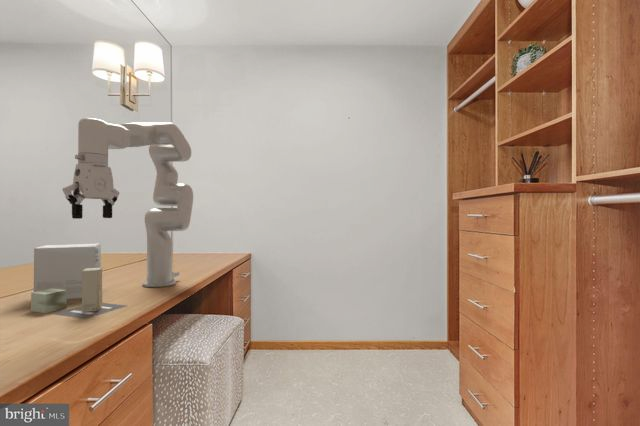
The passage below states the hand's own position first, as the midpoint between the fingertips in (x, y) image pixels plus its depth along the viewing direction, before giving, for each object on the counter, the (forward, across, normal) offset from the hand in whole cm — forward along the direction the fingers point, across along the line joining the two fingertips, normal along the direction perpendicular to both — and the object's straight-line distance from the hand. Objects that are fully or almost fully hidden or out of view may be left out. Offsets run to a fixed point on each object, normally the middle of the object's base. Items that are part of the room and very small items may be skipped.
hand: (93, 218), depth 103 cm
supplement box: (+28, +11, +24) cm, 39 cm away
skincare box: (+28, 0, 0) cm, 28 cm away
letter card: (+28, 0, 0) cm, 28 cm away
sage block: (+28, -4, +12) cm, 31 cm away
